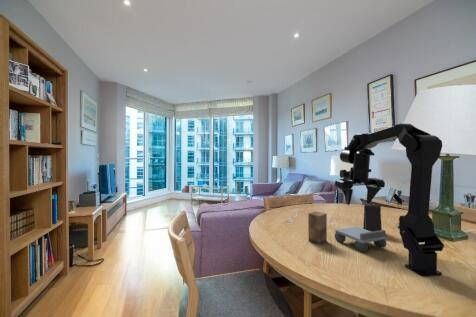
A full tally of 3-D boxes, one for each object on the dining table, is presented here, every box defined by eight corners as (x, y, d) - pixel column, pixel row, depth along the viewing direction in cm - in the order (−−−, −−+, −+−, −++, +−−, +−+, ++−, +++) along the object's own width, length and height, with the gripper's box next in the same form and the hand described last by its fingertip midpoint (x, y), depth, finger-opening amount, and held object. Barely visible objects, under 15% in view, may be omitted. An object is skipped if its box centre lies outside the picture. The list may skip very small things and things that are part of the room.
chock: (326, 241, 97) (326, 213, 97) (320, 244, 93) (320, 215, 93) (315, 238, 100) (315, 211, 100) (308, 241, 97) (308, 213, 97)
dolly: (386, 249, 89) (386, 231, 88) (364, 253, 85) (364, 235, 84) (355, 237, 102) (355, 221, 101) (334, 240, 98) (334, 224, 97)
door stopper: (382, 236, 102) (382, 207, 102) (365, 235, 104) (366, 206, 104) (378, 230, 110) (378, 203, 110) (363, 229, 112) (363, 202, 112)
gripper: (367, 162, 107) (364, 197, 109) (328, 163, 103) (326, 199, 105) (387, 166, 96) (384, 205, 98) (345, 167, 93) (342, 207, 94)
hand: (358, 204), depth 99 cm, fingers open, 9 cm apart
